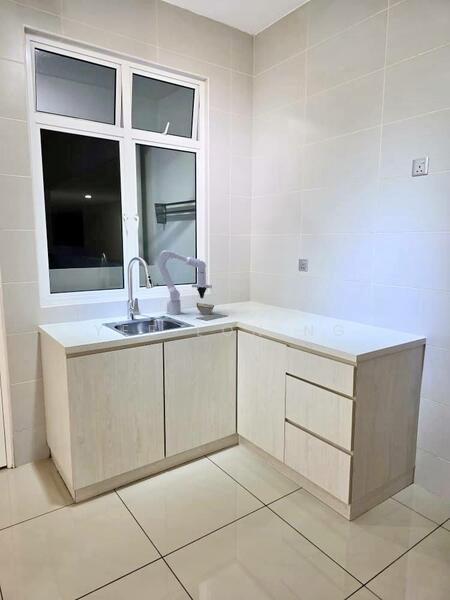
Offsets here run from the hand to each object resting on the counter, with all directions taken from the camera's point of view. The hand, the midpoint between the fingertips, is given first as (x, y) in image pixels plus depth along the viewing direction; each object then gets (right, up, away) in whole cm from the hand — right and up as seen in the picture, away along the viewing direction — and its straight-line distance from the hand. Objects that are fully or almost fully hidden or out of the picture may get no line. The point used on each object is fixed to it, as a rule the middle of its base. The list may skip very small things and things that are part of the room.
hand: (201, 298), depth 270 cm
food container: (+3, -10, -7) cm, 12 cm away
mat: (+8, -13, -14) cm, 20 cm away
